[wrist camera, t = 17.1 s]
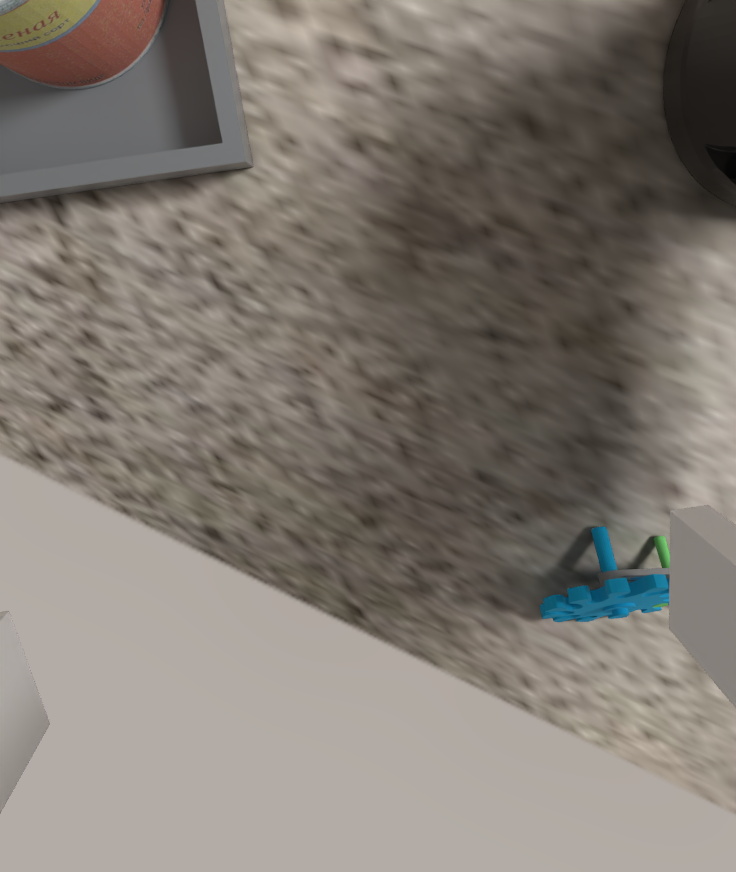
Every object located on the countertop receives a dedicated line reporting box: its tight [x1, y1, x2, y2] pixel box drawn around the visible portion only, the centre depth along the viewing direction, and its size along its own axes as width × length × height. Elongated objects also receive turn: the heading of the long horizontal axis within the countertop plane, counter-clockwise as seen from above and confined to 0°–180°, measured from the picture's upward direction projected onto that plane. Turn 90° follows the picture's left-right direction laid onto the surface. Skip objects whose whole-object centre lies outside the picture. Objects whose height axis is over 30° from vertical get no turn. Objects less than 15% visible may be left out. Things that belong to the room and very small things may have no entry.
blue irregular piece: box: [540, 527, 670, 622], centre depth 44 cm, size 11×6×10 cm
